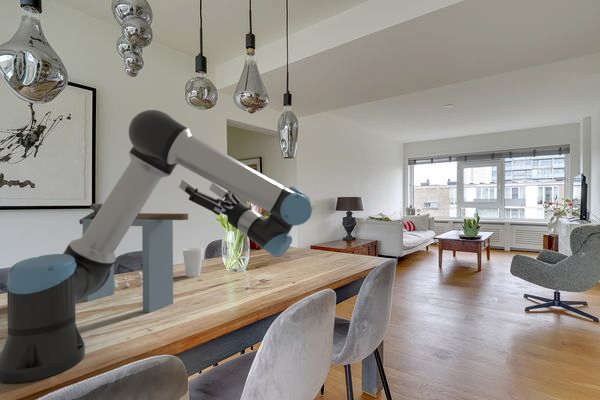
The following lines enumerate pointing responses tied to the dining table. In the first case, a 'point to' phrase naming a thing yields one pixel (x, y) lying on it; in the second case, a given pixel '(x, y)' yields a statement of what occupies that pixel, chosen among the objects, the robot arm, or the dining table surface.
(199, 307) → the dining table surface
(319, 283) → the dining table surface
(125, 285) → the game piece set
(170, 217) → the walnut bar
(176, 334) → the dining table surface
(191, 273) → the foam cup
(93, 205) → the domino
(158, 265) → the slate shelf
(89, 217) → the domino
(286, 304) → the dining table surface
